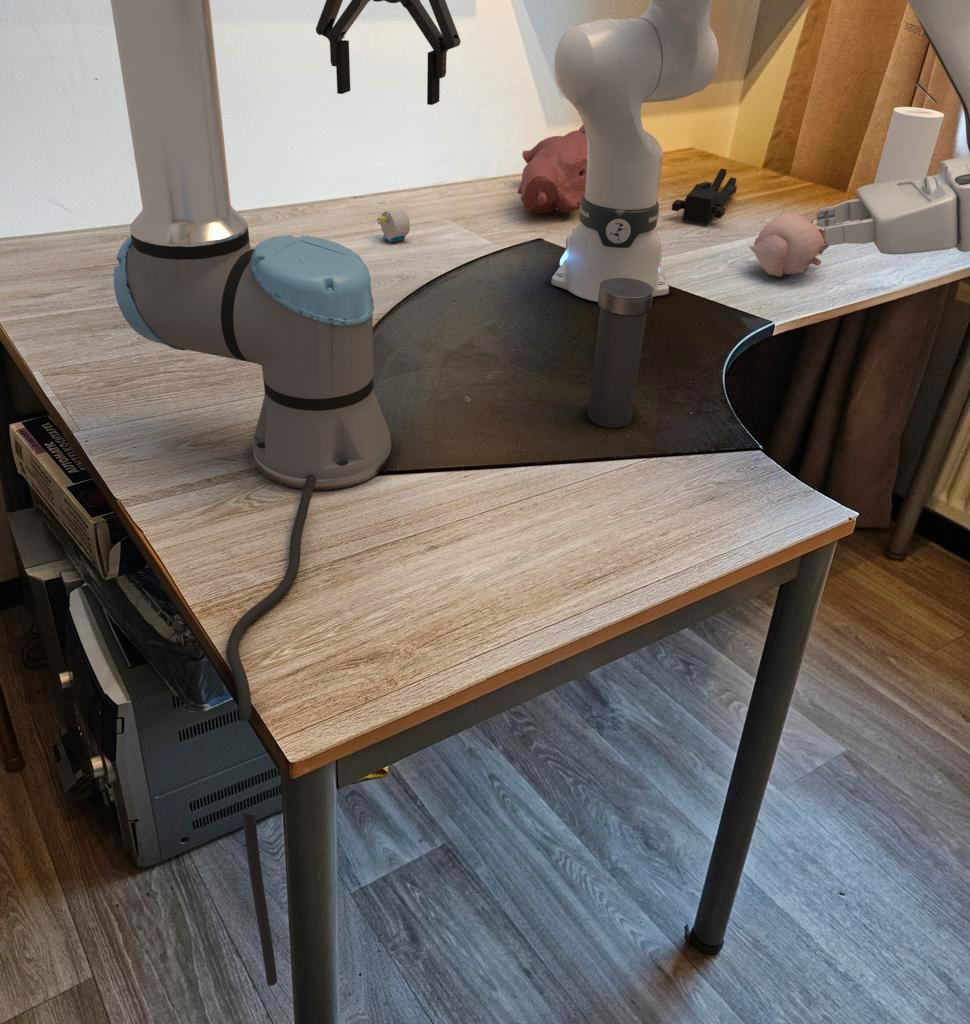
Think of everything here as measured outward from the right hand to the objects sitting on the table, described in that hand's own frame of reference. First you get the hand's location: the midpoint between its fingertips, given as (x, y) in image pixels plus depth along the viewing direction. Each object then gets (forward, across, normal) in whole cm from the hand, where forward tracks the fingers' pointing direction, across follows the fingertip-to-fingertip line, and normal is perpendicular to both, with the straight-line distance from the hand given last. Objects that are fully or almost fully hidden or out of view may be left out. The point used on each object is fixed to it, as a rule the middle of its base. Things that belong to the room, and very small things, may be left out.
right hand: (820, 227), depth 104 cm
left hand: (+54, -28, -22) cm, 65 cm away
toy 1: (+14, -96, +12) cm, 98 cm away
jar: (+26, 0, +18) cm, 32 cm away
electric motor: (+68, -53, 0) cm, 86 cm away
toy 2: (+3, -61, +19) cm, 64 cm away
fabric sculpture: (+40, -86, +5) cm, 95 cm away
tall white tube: (-16, -89, +22) cm, 94 cm away
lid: (+21, +2, +3) cm, 22 cm away
